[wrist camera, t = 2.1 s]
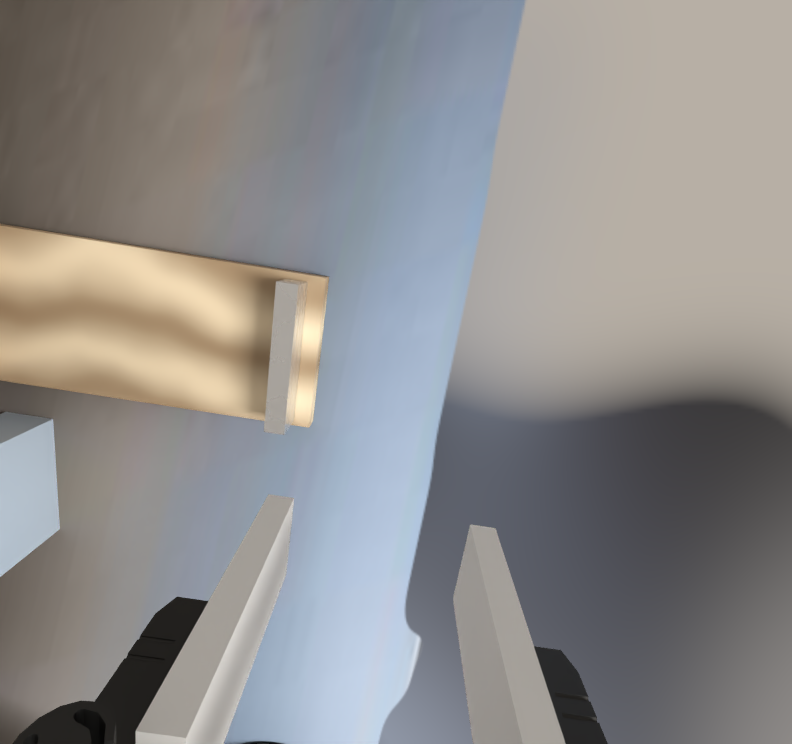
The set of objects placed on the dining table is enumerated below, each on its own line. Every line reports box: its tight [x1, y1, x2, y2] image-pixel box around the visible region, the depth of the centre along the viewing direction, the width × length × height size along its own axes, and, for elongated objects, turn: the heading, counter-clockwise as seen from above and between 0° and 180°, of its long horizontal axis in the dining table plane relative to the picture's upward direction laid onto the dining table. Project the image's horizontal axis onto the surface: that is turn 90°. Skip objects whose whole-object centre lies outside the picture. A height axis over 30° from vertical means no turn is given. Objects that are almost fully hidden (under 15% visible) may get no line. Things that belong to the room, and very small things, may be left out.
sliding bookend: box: [264, 279, 308, 435], centre depth 32 cm, size 11×2×3 cm, turn 171°
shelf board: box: [0, 224, 329, 427], centre depth 32 cm, size 12×27×4 cm, turn 81°
